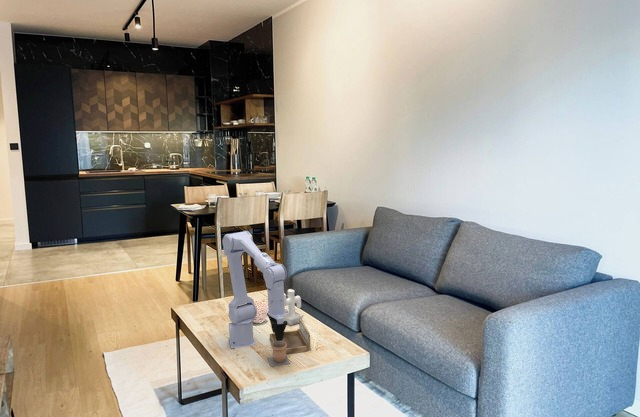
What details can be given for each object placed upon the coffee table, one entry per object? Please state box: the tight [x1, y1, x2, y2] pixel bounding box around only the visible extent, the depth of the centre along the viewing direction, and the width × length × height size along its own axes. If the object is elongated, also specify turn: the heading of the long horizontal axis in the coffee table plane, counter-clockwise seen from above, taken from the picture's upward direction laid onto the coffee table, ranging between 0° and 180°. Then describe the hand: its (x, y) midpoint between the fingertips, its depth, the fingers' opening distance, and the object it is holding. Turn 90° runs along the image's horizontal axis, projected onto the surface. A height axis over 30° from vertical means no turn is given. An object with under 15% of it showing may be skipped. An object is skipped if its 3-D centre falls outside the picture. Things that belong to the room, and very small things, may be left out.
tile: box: [267, 354, 291, 367], centre depth 175 cm, size 7×7×1 cm
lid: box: [298, 318, 311, 352], centre depth 190 cm, size 1×15×8 cm, turn 15°
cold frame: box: [269, 328, 312, 356], centre depth 188 cm, size 13×16×6 cm
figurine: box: [283, 288, 304, 326], centre depth 210 cm, size 7×9×15 cm
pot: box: [270, 342, 287, 363], centre depth 175 cm, size 5×5×6 cm
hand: (277, 336), depth 174 cm, fingers open, 7 cm apart
